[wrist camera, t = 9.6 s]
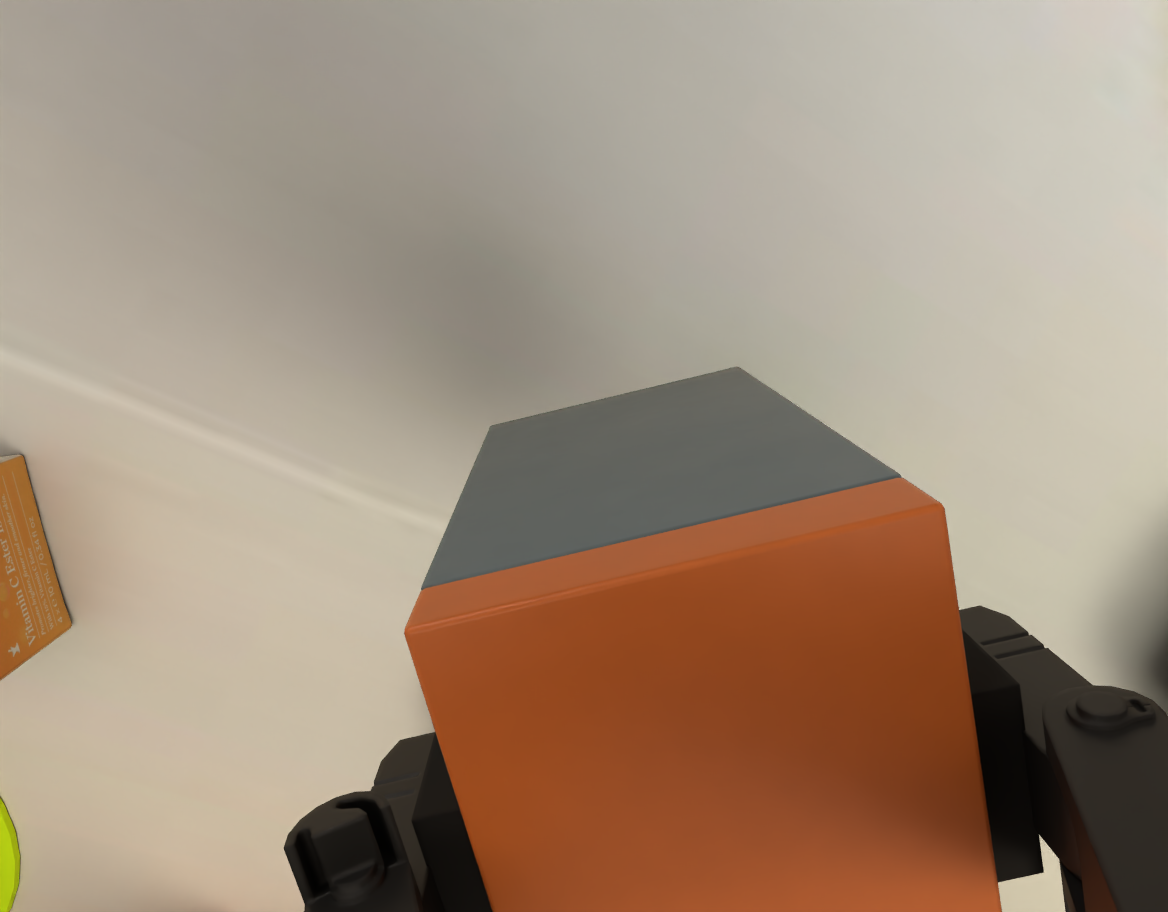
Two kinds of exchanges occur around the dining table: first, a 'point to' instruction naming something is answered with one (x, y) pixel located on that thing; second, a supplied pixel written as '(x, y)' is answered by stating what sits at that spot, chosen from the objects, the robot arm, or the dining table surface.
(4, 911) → the toy cauldron
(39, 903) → the dining table surface
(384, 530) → the dining table surface
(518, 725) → the container
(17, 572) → the small box
